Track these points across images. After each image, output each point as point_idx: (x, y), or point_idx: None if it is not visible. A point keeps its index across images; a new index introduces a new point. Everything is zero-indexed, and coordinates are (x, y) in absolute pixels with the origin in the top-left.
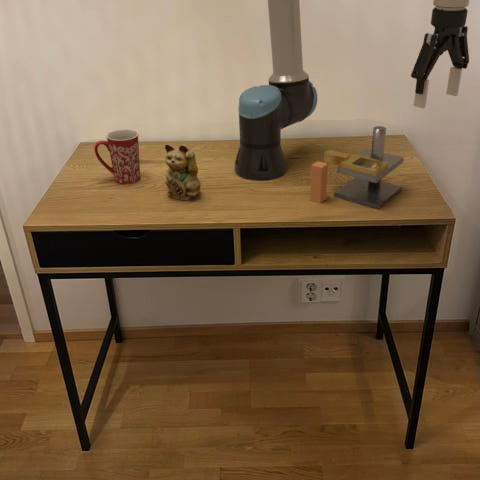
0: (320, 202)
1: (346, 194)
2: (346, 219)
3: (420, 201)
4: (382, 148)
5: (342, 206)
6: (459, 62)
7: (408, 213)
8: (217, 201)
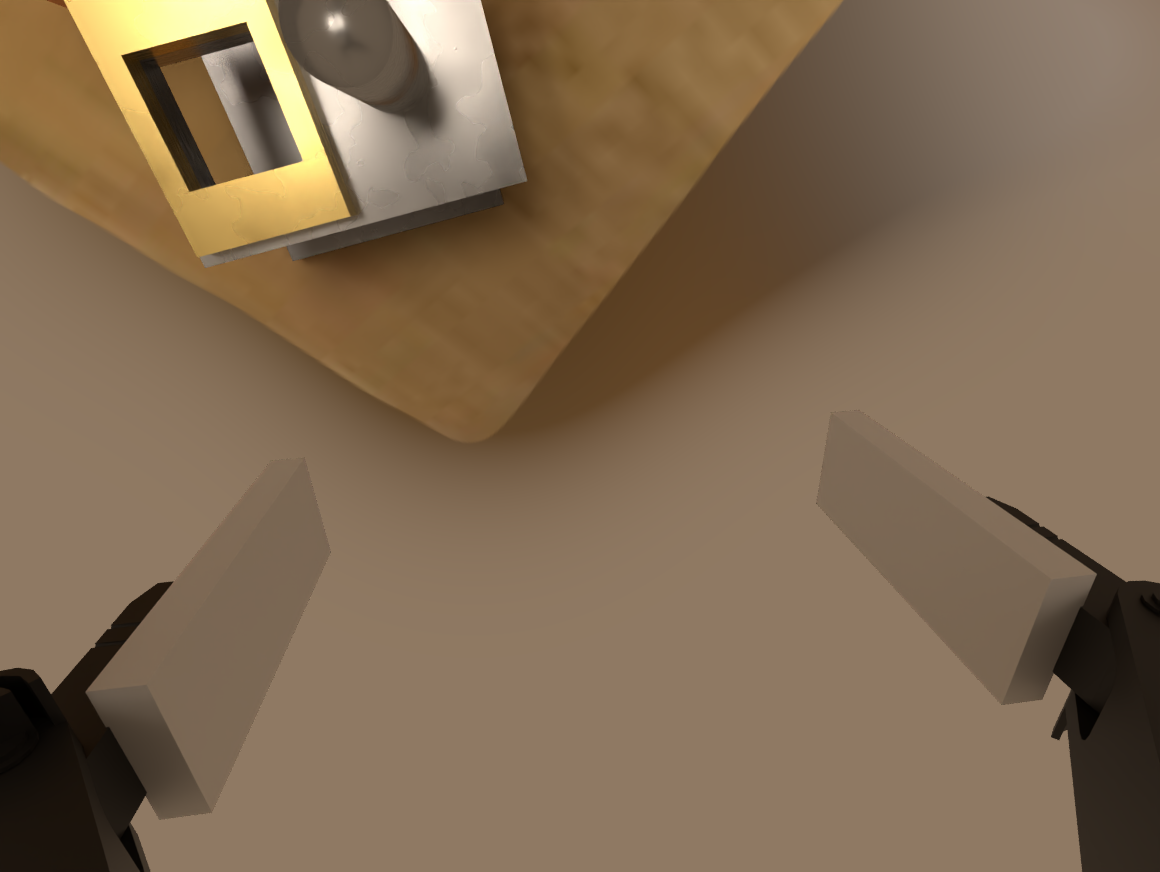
0: None
1: (221, 69)
2: (115, 229)
3: (493, 318)
4: (375, 105)
5: None
6: (1082, 789)
7: (380, 353)
8: None
